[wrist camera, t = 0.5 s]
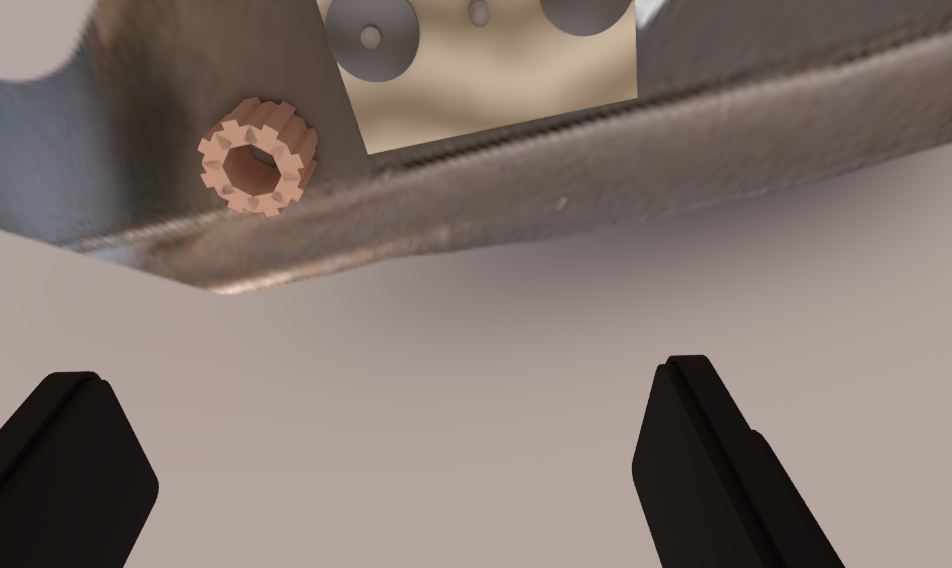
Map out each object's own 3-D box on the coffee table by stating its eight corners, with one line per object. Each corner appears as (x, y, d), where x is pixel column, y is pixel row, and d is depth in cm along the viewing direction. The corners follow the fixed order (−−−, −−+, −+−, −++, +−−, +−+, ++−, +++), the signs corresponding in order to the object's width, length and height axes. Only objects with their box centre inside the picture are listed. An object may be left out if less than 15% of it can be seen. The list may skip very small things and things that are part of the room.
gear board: (285, -103, 32) (263, -103, 29) (624, -191, 31) (648, -203, 27) (369, 149, 42) (361, 174, 38) (633, 93, 40) (652, 114, 36)
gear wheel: (205, 107, 39) (177, 132, 35) (298, 87, 39) (280, 109, 35) (248, 194, 43) (227, 225, 39) (332, 176, 43) (320, 206, 39)
